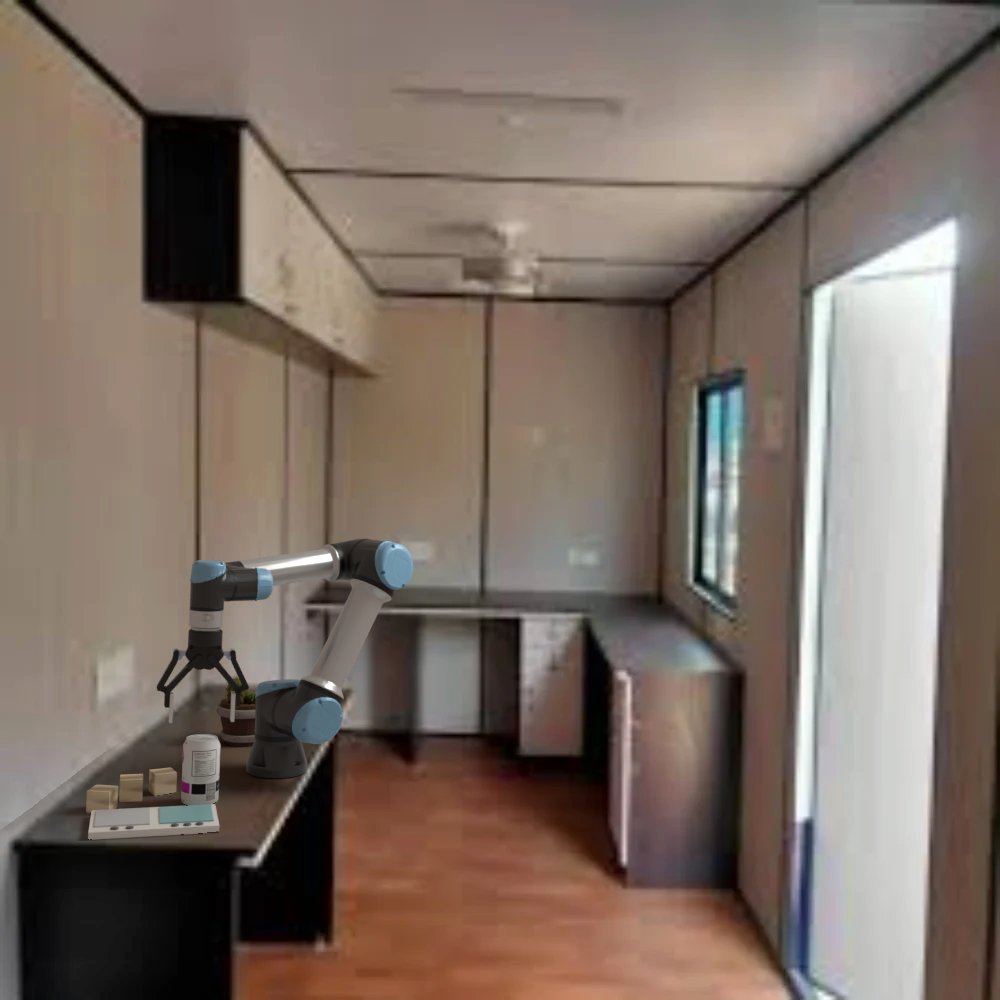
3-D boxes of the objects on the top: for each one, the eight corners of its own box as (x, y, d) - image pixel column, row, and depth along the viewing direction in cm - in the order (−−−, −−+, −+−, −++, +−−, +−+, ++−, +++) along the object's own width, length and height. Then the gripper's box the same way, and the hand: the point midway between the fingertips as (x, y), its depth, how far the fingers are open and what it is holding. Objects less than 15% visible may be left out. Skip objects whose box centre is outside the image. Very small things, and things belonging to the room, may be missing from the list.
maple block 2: (119, 796, 258) (120, 774, 258) (142, 795, 260) (143, 773, 260) (119, 802, 253) (119, 780, 253) (142, 801, 255) (143, 779, 255)
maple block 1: (95, 806, 250) (96, 784, 250) (117, 808, 249) (118, 785, 249) (86, 813, 245) (86, 791, 245) (108, 814, 244) (109, 792, 244)
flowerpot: (246, 733, 322) (248, 664, 321) (280, 743, 312) (283, 672, 311) (204, 741, 310) (206, 669, 310) (238, 752, 301) (241, 678, 300)
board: (91, 817, 242) (91, 808, 242) (214, 810, 250) (215, 802, 250) (88, 839, 228) (88, 831, 228) (219, 832, 236) (219, 824, 236)
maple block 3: (148, 790, 263) (149, 769, 263) (170, 788, 266) (170, 767, 266) (154, 796, 259) (155, 775, 259) (176, 793, 262) (177, 772, 262)
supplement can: (173, 805, 253) (176, 739, 252) (194, 795, 260) (196, 731, 260) (205, 810, 250) (207, 743, 250) (224, 800, 258) (227, 735, 258)
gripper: (148, 630, 247) (144, 726, 247) (263, 631, 254) (258, 723, 255) (148, 625, 254) (144, 718, 254) (259, 626, 262) (255, 716, 262)
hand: (201, 721), depth 255 cm, fingers open, 13 cm apart
